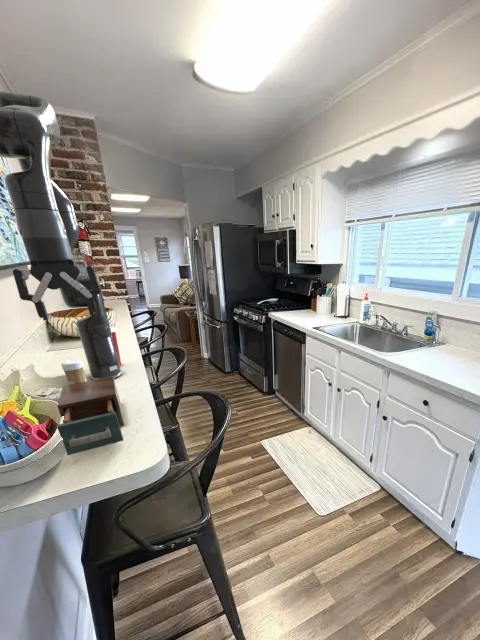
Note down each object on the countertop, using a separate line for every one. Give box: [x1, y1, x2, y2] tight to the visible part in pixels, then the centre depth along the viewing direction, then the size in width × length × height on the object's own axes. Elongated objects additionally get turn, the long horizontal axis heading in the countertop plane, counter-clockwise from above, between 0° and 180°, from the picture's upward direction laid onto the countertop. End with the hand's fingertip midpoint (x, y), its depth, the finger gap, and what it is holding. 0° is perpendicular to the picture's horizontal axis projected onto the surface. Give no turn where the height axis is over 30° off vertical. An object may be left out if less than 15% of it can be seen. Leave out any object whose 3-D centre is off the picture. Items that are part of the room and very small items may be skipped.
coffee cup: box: [110, 325, 122, 367], centre depth 116 cm, size 8×8×15 cm
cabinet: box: [56, 377, 125, 427], centre depth 78 cm, size 14×12×9 cm
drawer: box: [57, 398, 124, 456], centre depth 68 cm, size 17×10×7 cm, turn 30°
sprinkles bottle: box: [61, 358, 88, 385], centre depth 84 cm, size 5×5×14 cm
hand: (69, 317), depth 68 cm, fingers open, 8 cm apart
